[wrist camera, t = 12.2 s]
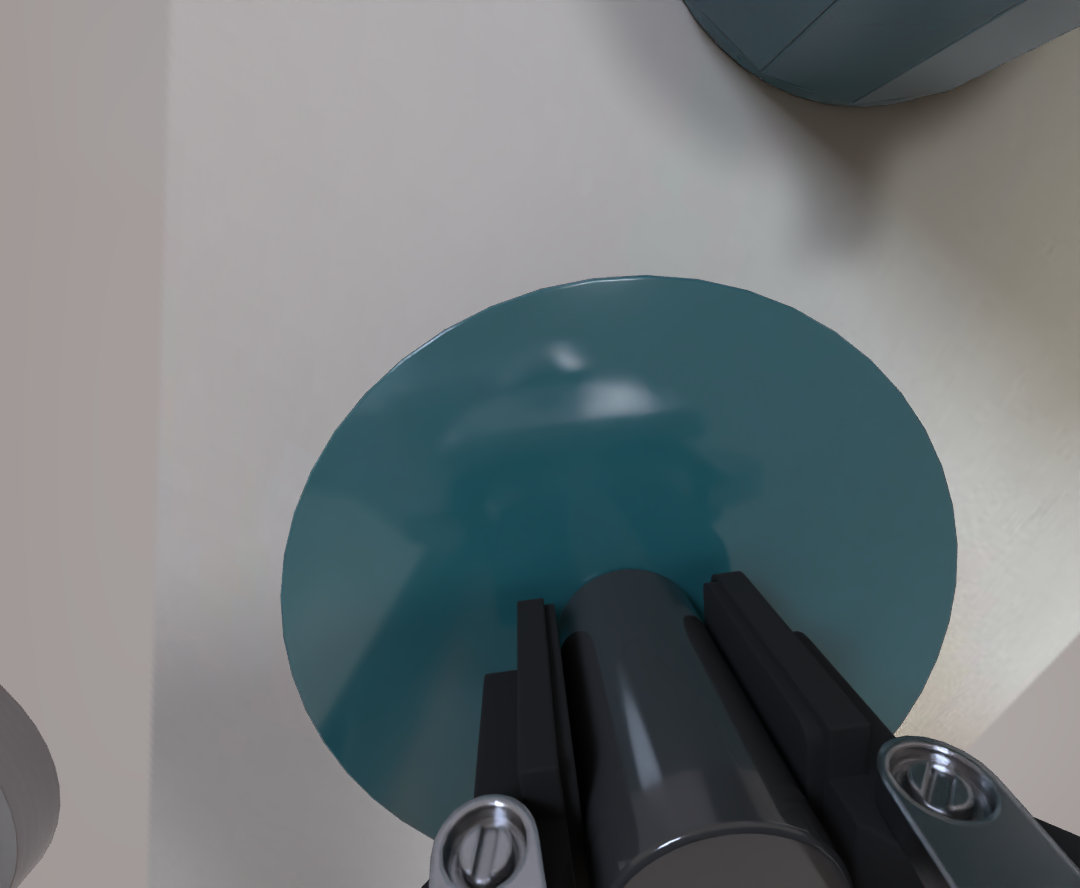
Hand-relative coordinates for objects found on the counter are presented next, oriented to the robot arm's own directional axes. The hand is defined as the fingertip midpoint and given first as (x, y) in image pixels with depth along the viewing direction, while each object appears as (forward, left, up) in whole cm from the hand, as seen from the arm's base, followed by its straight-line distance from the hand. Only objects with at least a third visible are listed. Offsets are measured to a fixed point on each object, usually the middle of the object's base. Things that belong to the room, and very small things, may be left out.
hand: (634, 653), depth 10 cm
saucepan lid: (0, 0, -1) cm, 1 cm away
